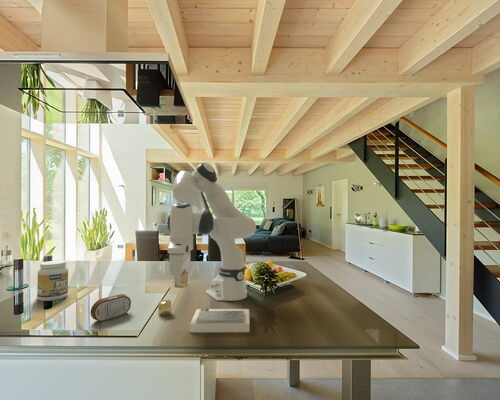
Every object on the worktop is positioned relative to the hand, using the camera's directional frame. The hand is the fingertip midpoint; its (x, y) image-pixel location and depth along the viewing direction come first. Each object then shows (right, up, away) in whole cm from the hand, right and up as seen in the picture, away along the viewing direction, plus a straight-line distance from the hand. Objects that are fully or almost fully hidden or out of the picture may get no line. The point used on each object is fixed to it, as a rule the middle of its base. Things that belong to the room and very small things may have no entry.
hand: (181, 281), depth 109 cm
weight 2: (0, -2, 0) cm, 2 cm away
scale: (+16, -16, -2) cm, 22 cm away
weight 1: (-9, -16, +8) cm, 19 cm away
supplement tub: (-68, -16, +28) cm, 76 cm away
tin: (-28, -16, +4) cm, 33 cm away
